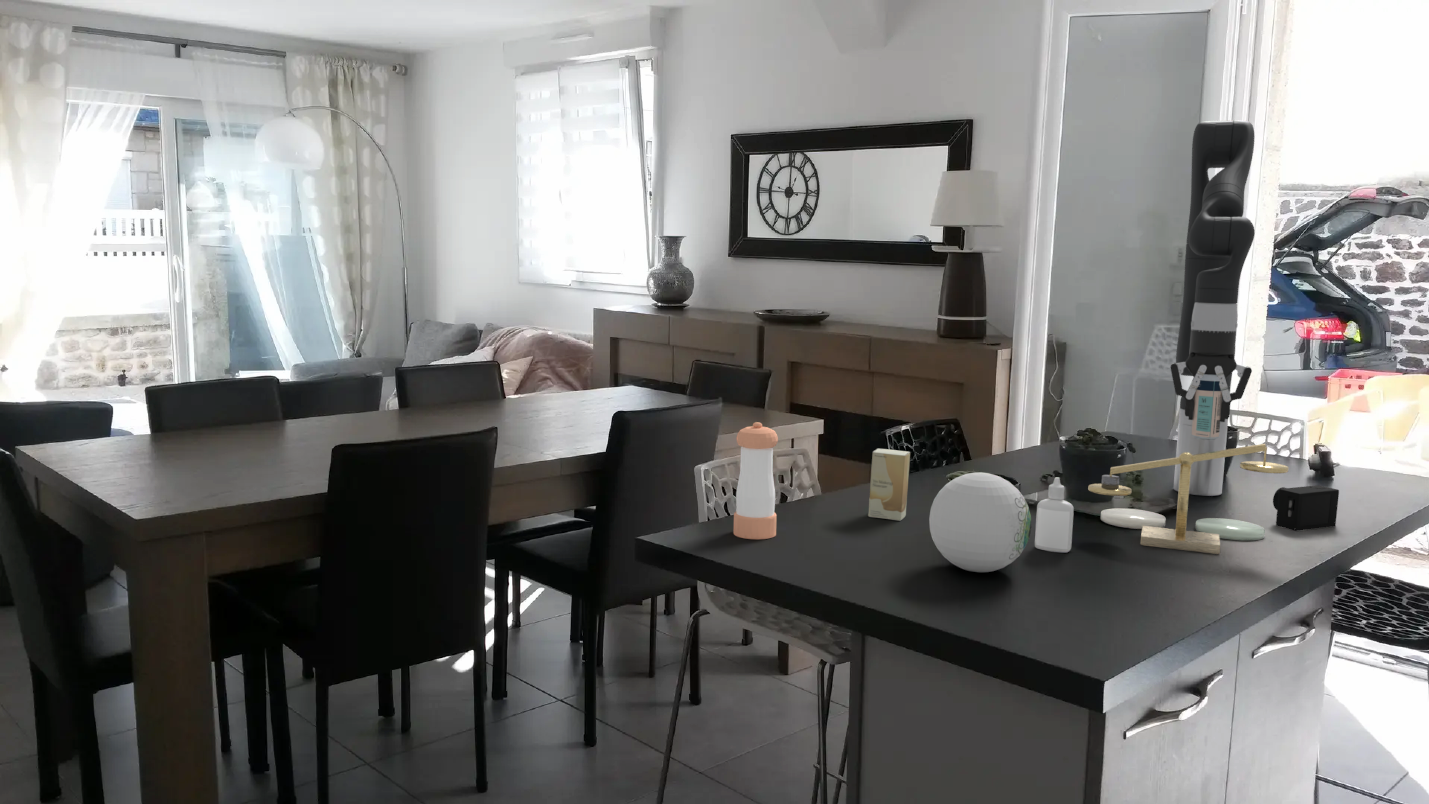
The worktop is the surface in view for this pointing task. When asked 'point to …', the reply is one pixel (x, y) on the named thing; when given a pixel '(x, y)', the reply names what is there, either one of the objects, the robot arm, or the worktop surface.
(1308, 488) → the digital camera
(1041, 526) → the eye dropper bottle
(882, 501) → the skincare box
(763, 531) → the pepper shaker
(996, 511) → the decorative object
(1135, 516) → the glossy white dome
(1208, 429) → the beer can
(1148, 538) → the balance
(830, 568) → the worktop surface
